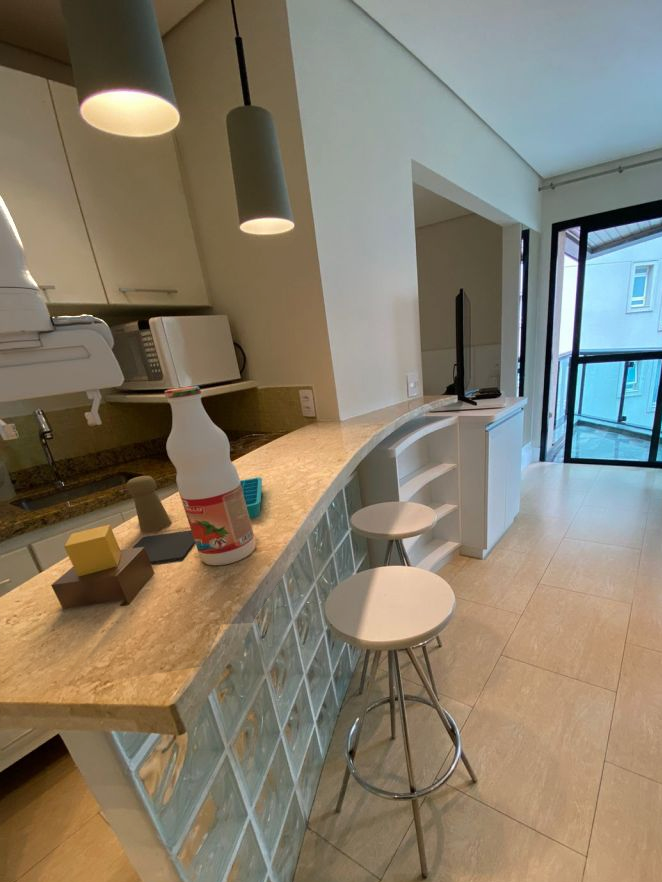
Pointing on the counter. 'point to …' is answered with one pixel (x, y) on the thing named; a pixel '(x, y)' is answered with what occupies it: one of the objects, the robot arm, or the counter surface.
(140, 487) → the cork
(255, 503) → the ice cube tray
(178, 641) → the counter surface
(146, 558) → the walnut block
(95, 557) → the mustard cube
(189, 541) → the coaster
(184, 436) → the fruit juice
